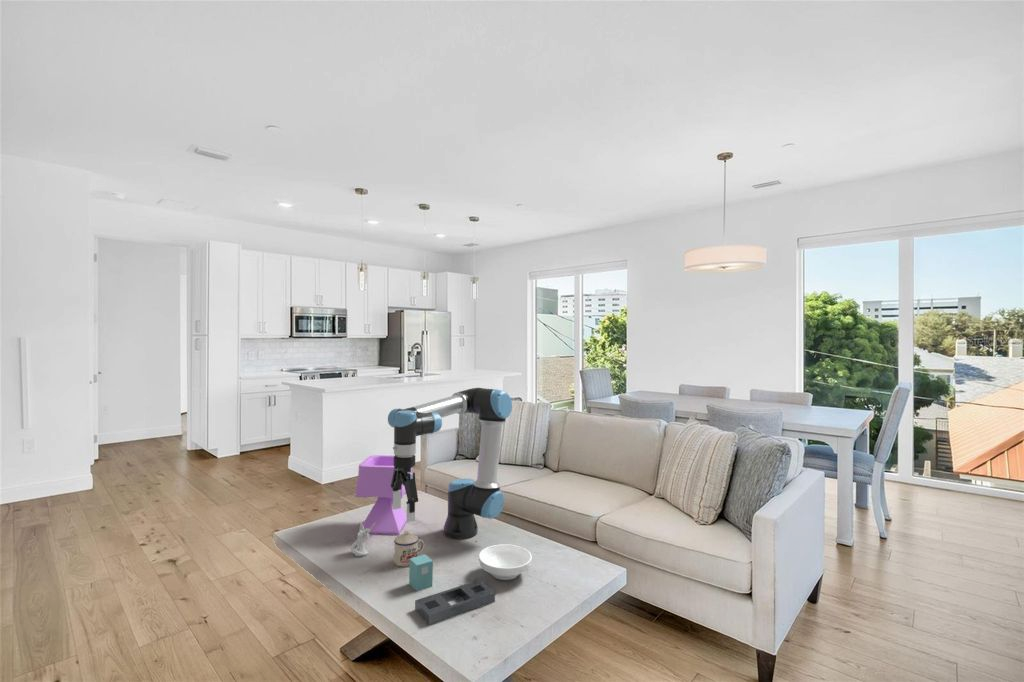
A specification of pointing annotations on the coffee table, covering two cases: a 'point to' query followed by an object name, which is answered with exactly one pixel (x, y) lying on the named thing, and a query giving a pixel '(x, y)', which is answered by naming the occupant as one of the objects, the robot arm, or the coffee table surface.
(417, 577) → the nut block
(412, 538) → the teacup with lid
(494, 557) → the bowl
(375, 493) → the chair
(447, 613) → the grey flat slotted block
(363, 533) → the figurine
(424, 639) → the coffee table surface
